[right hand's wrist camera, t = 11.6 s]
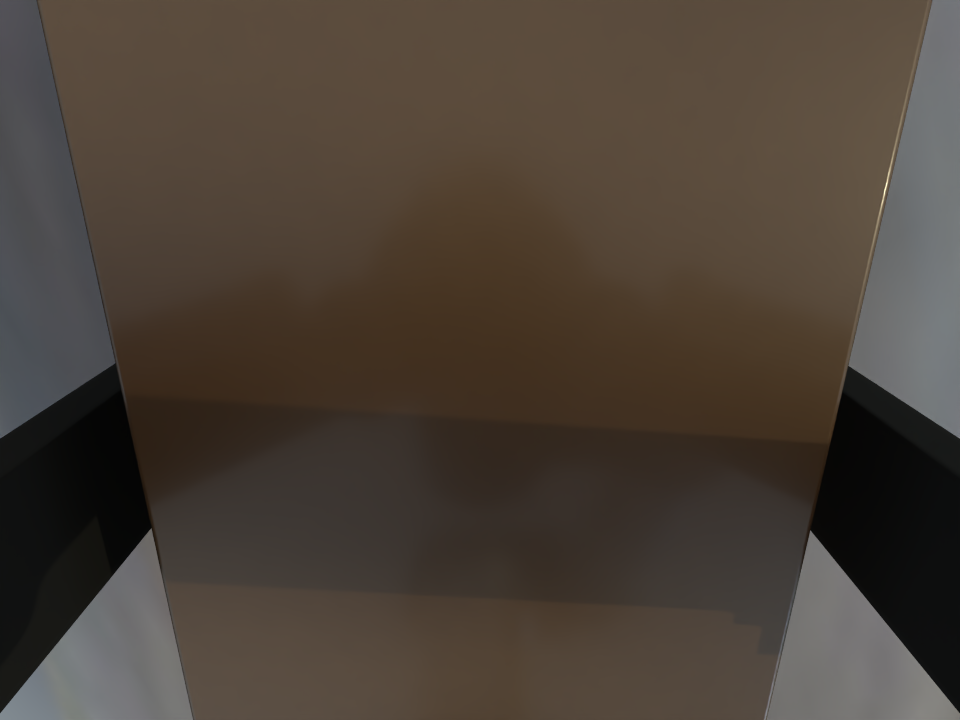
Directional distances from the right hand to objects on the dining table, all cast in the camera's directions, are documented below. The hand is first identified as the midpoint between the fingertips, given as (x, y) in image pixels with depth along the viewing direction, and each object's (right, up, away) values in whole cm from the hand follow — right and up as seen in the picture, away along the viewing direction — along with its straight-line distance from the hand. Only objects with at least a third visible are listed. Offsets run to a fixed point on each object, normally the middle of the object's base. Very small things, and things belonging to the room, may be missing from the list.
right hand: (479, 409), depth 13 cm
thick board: (0, +27, -7) cm, 28 cm away
